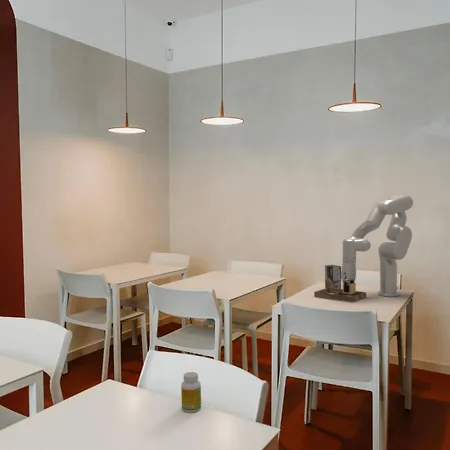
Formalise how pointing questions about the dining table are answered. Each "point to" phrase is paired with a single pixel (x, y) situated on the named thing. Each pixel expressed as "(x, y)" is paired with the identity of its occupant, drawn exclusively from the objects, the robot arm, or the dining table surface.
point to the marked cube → (351, 288)
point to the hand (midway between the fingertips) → (349, 290)
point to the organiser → (339, 295)
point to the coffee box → (333, 276)
